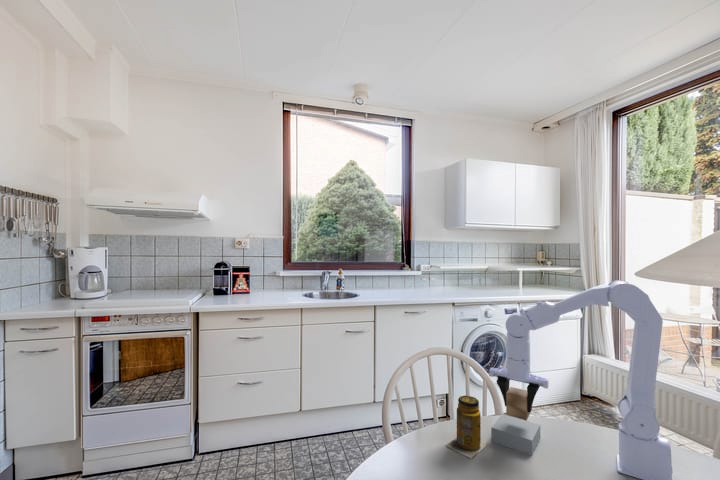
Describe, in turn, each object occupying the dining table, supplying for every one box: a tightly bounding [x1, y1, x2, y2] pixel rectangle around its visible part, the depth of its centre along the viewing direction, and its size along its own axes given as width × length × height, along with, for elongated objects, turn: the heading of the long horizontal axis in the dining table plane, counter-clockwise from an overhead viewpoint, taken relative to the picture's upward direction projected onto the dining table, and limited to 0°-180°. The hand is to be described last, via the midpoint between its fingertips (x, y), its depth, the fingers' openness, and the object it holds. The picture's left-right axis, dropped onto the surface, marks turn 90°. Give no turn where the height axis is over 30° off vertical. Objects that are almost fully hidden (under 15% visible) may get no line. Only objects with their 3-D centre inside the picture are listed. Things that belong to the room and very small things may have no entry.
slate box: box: [490, 413, 541, 456], centre depth 93 cm, size 10×10×4 cm
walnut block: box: [505, 386, 531, 421], centre depth 93 cm, size 5×5×6 cm
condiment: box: [445, 395, 488, 459], centre depth 90 cm, size 7×8×12 cm
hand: (518, 408), depth 93 cm, fingers closed on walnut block, 5 cm apart
